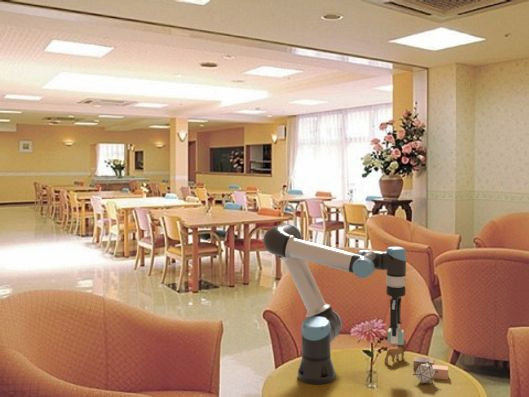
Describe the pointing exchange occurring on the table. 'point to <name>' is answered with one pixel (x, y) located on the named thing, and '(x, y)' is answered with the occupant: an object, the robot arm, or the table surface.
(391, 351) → the lion figurine
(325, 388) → the table surface
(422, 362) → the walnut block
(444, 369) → the terracotta block
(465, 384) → the table surface
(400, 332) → the teal block
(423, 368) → the game die
